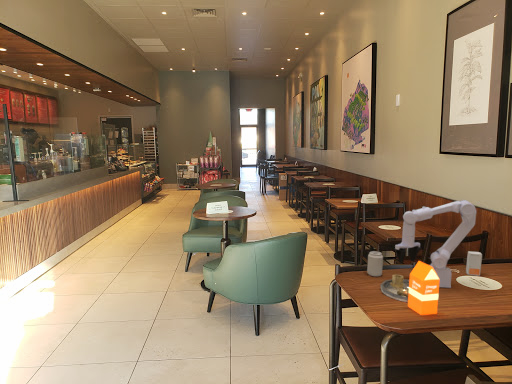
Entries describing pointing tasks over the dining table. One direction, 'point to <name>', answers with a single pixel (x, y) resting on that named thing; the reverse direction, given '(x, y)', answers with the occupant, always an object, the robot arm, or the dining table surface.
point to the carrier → (396, 290)
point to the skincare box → (473, 263)
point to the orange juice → (423, 289)
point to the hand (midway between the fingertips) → (406, 261)
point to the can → (375, 264)
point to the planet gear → (397, 281)
